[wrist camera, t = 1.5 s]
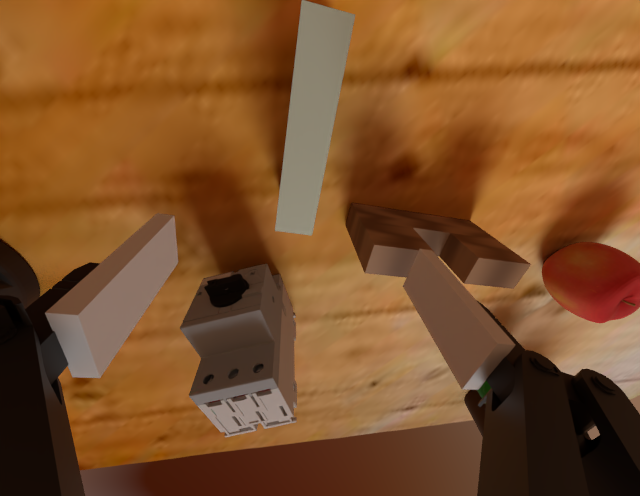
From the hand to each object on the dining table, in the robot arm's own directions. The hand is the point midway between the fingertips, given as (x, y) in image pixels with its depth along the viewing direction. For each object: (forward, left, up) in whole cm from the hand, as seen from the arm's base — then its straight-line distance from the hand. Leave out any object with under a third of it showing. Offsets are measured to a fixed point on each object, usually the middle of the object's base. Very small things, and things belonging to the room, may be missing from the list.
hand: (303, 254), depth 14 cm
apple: (+39, +8, -17) cm, 43 cm away
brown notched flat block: (+15, +1, -17) cm, 23 cm away
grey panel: (-2, +4, -17) cm, 17 cm away
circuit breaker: (+2, -16, -17) cm, 24 cm away
